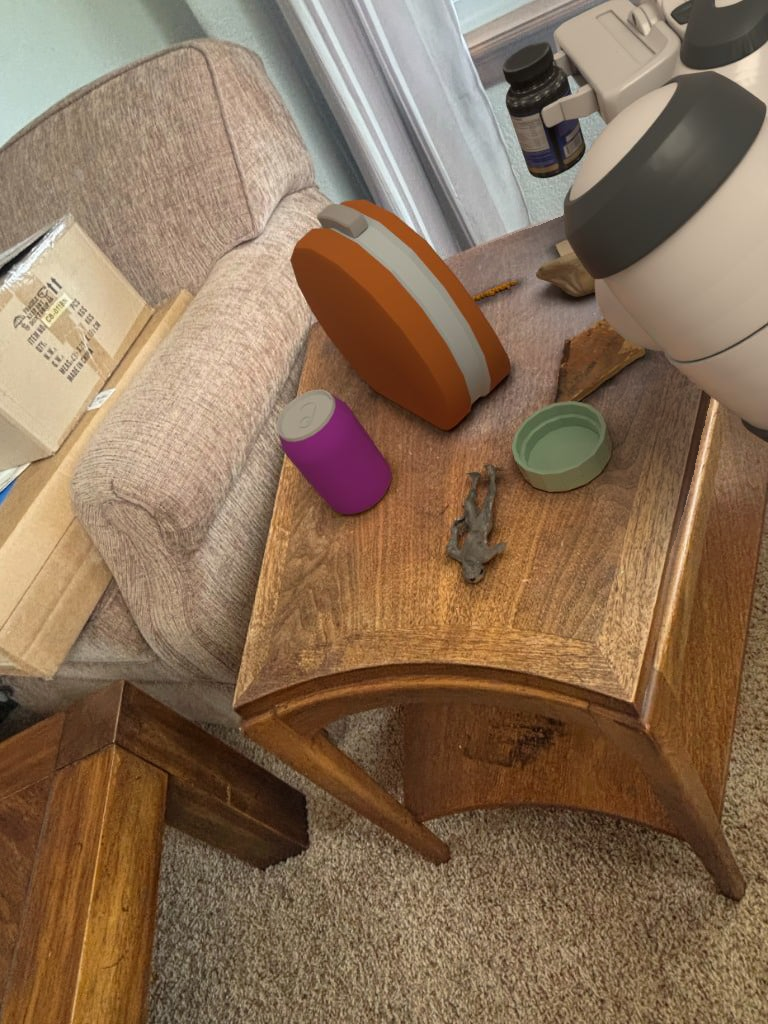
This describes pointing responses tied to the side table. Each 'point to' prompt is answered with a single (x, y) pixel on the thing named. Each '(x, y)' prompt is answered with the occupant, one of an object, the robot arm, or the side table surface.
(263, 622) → the side table surface
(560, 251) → the mat
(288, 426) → the beverage can
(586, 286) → the fossil
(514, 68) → the pill bottle
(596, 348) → the shard
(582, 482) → the bowl
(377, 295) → the alarm clock
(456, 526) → the figurine
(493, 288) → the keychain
